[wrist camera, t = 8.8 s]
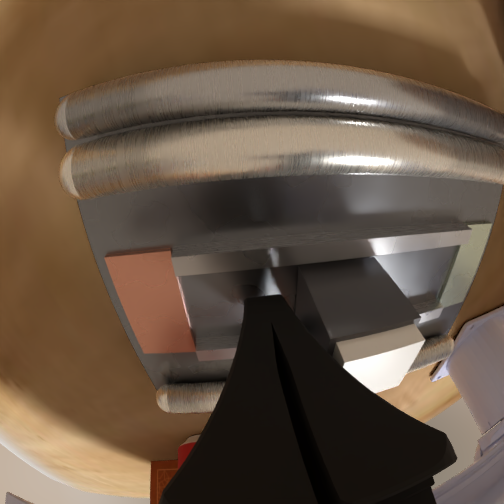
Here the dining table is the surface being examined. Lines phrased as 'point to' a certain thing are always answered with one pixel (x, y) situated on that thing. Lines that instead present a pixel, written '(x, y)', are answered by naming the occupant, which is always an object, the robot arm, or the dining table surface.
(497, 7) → the dining table surface
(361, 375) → the breaker lever
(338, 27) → the dining table surface
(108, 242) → the panel
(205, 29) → the dining table surface
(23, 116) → the dining table surface
